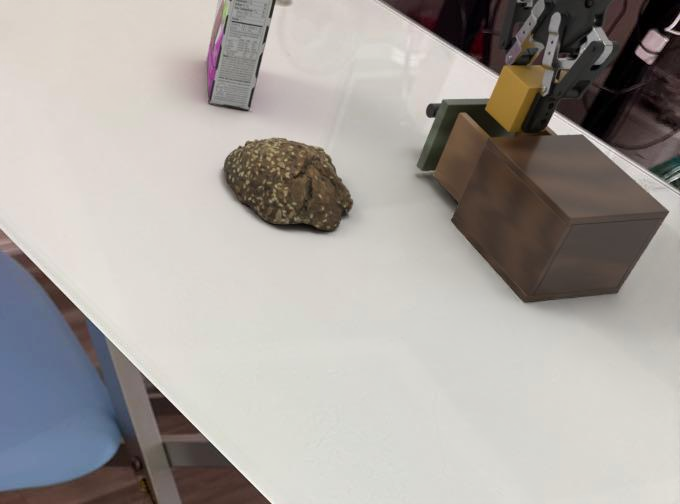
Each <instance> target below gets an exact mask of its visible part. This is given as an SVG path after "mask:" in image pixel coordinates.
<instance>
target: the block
mask: <svg viewBox="0 0 680 504" xmlns="http://www.w3.org/2000/svg"><path fill="white" fill-rule="evenodd" d="M544 70H545V69H544V67H543V66H542V64H540V65H538V64H531V65H506V64H505V65H503V67H502V69H501V72H500V74H499V76H498V77H497V81H496V83H495V85H494V88H493V90H492V92H491V94H490V96H489V98H490V99H489V101H488V103H487V106H486V108H485V110H486V111H487V112H488V113H489V114H490V115H491V116H492V117H493V118H494V119H495V120H496V121H497V122H498V123H499V124H500V125H502V126H503V127H504V128H505V129H506V130H507V131H508V132H524V131H523V130H522V129H521V125H522V123H523V121H524V119H525V117H526V115H527V113H528V111H529V108H530V106H531V104H532V102H533V100H534V98H535V96H536V94H537V93H540V86H541V82H542V78H543V74H544ZM558 80H559V79H557V78H556V79H555V82H558ZM547 126H548V125H547ZM547 126H546V127H547ZM545 130H546V128H545V129H544V130H542V131H545Z"/></svg>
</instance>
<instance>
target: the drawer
mask: <svg viewBox="0 0 680 504" xmlns="http://www.w3.org/2000/svg"><path fill="white" fill-rule="evenodd" d="M489 99H490V97H489V98H488V97H487V98H443V99H441V102H437V103H436V102H435V103H434V102H431V103H428V105H427V106H426V108H425V116H426V117H427V118H428V119H434V120H433V122H432V124H431V126H430V129H429V132H428V134H427V137H426V139H425V141H424V145H423V147H422V149H421V151H420V155H419V157H418V159H417V162H416V164H415V165H416V167H417V168H418V169H419V170H420V171H421V172H433V173H432V176H433V177H434V178H435V179H436V180H437V182H439V183H440V184H441V186H442V187H443V188H444V189H445V190H446V191H447V192H448V193H449V194H450V195H451V197H452V198H453V199H454V200H455V201H456V202H457V203H458V204H459V201H460V199H461V197H462V195H463V192H464V190H465V188H466V186H467V184H468V181H469V179H470V177H471V175H472V173H473V170H474V168H475V166H476V164H477V162H478V159H479V157H480V155H481V153H482V150H483V148H484V146H485V145H486V142H487V139H488V138H489V137H516V136H547V135H558V134H557V132H555V131H554V130H553V129H552V128H551V127H550V126H549V125H547V127H546V130H545V131H540V132H539V133H525V132H508V131H507V130H506V129H505V128H504V127H503V126H502V125H500V124H499V123H498V122H497V121H496V120H495V119H494V118H493V117H492V116H491V115H490V114H489V113H488V112H487V111H486V110H485V108H486V106H487V103H488V101H489Z"/></svg>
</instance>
